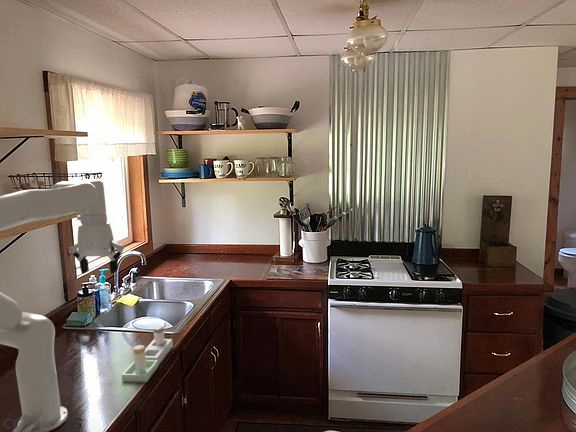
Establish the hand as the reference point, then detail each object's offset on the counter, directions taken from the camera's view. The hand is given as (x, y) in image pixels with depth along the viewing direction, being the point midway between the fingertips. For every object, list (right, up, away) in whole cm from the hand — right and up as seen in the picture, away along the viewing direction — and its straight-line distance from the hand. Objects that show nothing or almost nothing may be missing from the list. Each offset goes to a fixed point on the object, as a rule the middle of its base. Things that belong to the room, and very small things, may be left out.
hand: (99, 272), depth 147 cm
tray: (+11, -35, +8) cm, 38 cm away
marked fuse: (+11, -35, +8) cm, 37 cm away
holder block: (+12, -33, +21) cm, 41 cm away
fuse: (+12, -32, +25) cm, 43 cm away
